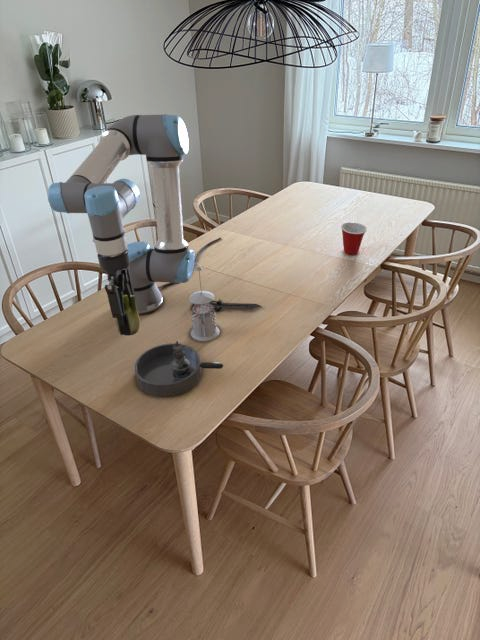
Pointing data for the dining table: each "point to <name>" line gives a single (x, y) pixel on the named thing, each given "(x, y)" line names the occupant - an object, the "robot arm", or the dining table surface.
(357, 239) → the plastic cup
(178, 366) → the salt shaker
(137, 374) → the pan
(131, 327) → the fennel bulb
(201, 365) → the pan handle
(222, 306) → the knife
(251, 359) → the dining table surface
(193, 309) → the french press
